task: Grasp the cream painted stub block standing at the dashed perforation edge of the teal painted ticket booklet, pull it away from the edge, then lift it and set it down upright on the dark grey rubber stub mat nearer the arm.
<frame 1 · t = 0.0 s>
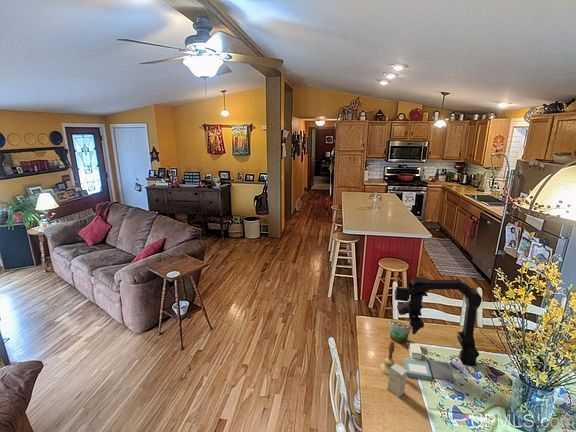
hand: (412, 328, 159), 15 cm above the table, fingers open, 9 cm apart
stub: (414, 357, 159), on the table
ticket book: (416, 370, 150), on the table
stub mat: (440, 370, 150), on the table
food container: (397, 340, 172), on the table
skincare box: (395, 391, 138), on the table
hand bell: (388, 369, 151), on the table
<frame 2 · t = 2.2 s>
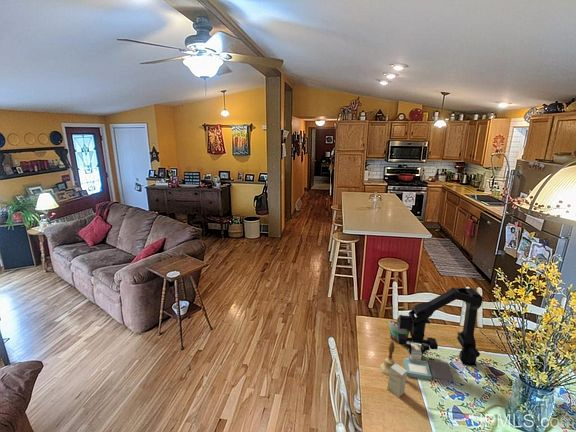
hand: (414, 355, 159), 1 cm above the table, fingers closed on stub, 4 cm apart
stub: (414, 357, 159), on the table, touching gripper
everything else where it was.
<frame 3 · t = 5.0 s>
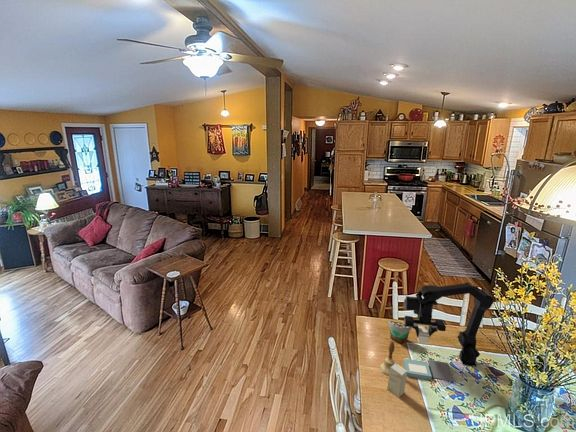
hand: (422, 337, 157), 11 cm above the table, fingers closed on stub, 4 cm apart
stub: (422, 339, 157), point 10 cm above the table, touching gripper
everything else where it was.
when the fingers open (3 cm above the table, at t = 7.7 s): stub drops 1 cm, resting on stub mat.
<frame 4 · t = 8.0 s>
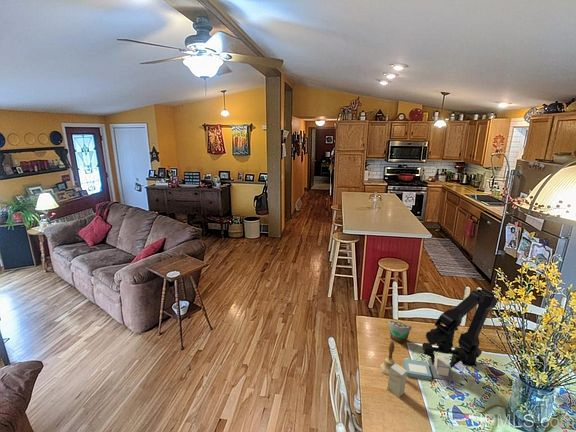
hand: (441, 365, 150), 3 cm above the table, fingers open, 8 cm apart
stub: (441, 369, 150), resting on stub mat
everything else where it was.
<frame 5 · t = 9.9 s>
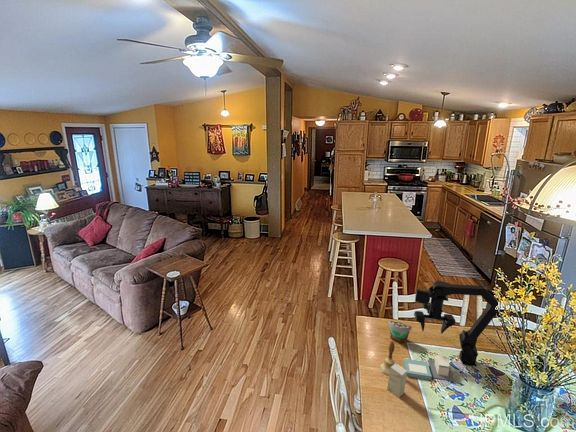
hand: (432, 332, 160), 12 cm above the table, fingers open, 9 cm apart
nothing on the table moved.
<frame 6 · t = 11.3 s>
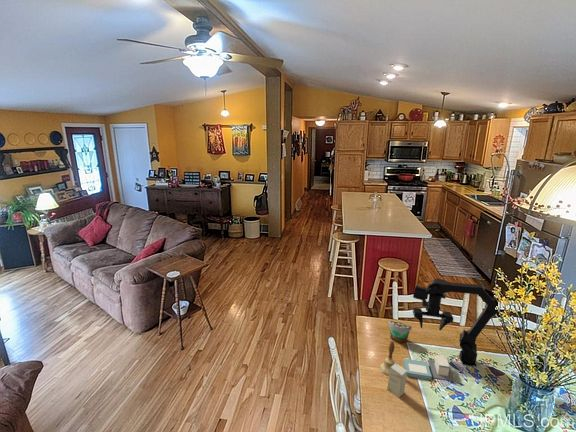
hand: (430, 328, 163), 12 cm above the table, fingers open, 9 cm apart
nothing on the table moved.
at the end: stub 0.1 cm from the stub mat (horizontally); stub tilted 0°; stub moved 13.1 cm from its start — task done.
